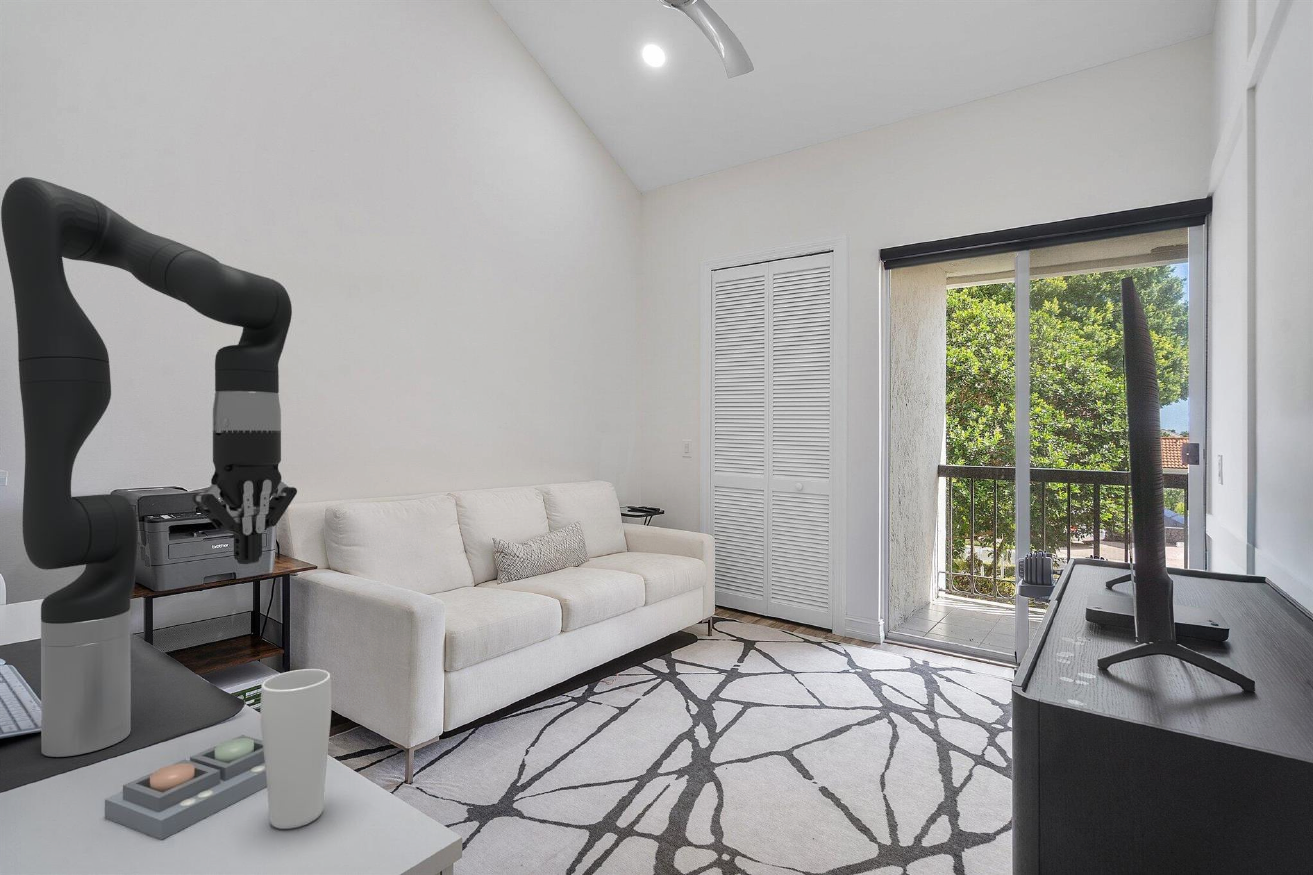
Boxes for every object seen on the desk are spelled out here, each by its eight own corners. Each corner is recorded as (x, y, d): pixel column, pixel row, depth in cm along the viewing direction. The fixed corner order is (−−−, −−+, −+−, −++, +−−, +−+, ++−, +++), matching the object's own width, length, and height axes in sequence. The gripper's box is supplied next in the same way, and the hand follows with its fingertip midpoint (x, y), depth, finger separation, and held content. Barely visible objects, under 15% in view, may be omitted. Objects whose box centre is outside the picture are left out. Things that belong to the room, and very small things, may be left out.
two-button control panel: (104, 817, 73) (104, 785, 73) (239, 757, 87) (239, 730, 87) (161, 839, 69) (161, 805, 69) (293, 772, 83) (293, 744, 83)
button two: (141, 793, 74) (141, 776, 74) (180, 776, 77) (180, 760, 77) (164, 801, 72) (164, 784, 72) (202, 783, 76) (202, 767, 76)
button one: (206, 764, 80) (206, 749, 80) (239, 750, 84) (239, 735, 84) (228, 771, 78) (228, 755, 78) (261, 756, 82) (261, 741, 82)
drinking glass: (302, 839, 69) (301, 693, 69) (245, 831, 70) (244, 688, 70) (345, 804, 76) (344, 670, 76) (292, 797, 77) (292, 666, 77)
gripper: (275, 428, 94) (275, 552, 94) (174, 427, 82) (175, 570, 82) (313, 428, 91) (313, 556, 91) (214, 427, 79) (215, 575, 79)
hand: (247, 562), depth 87 cm, fingers closed
